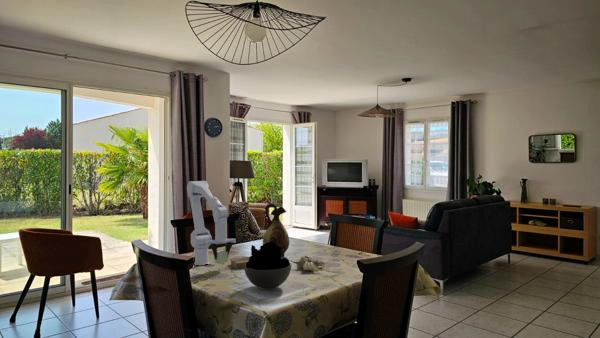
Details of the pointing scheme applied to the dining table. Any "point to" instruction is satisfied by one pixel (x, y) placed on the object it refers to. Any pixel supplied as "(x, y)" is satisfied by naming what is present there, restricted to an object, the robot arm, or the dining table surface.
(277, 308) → the dining table surface
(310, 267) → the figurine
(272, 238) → the ceramic jug
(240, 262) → the base block
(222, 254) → the cube
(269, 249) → the coal bowl
